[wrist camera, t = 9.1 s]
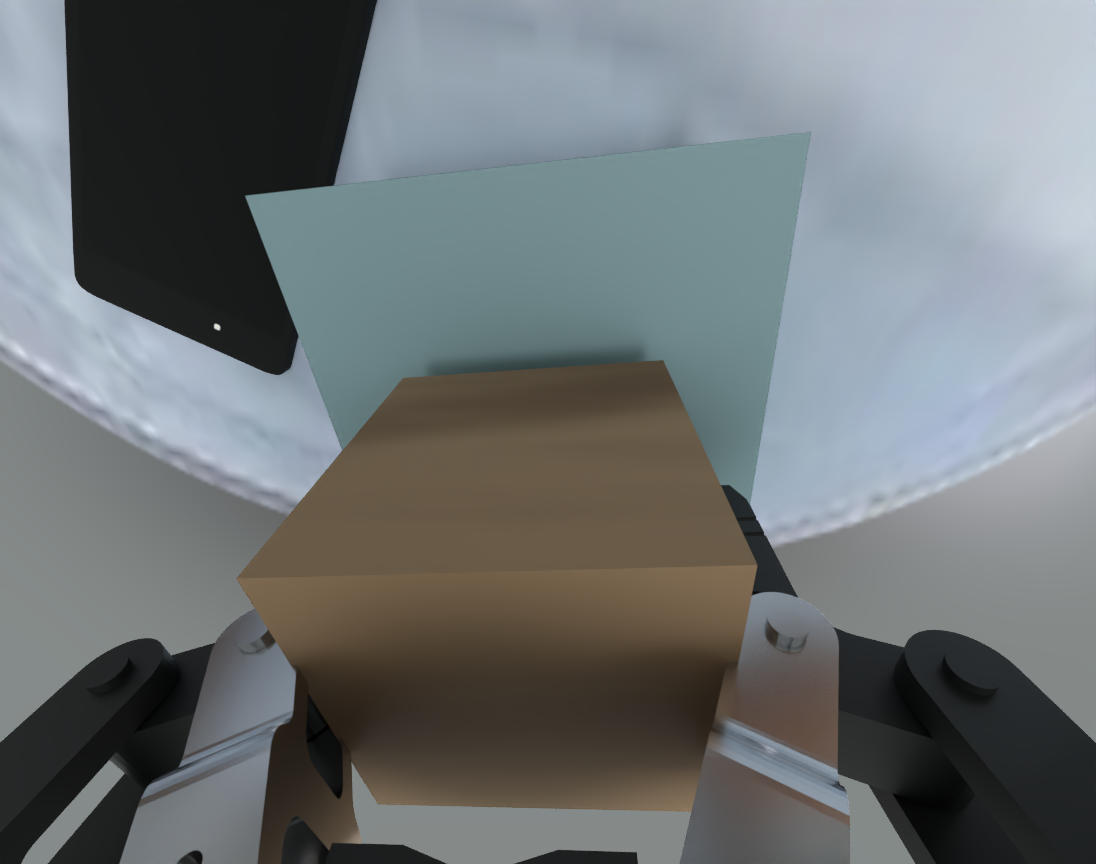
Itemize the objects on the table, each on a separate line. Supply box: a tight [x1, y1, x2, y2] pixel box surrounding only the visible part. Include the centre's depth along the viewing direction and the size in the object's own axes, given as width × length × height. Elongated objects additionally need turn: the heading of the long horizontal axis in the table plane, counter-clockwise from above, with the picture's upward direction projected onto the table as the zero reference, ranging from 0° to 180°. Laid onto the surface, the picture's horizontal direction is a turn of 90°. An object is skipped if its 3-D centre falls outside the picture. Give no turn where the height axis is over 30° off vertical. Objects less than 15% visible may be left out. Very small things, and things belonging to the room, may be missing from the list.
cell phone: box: [65, 0, 377, 375], centre depth 16 cm, size 9×18×1 cm, turn 152°
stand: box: [245, 132, 811, 504], centre depth 16 cm, size 14×12×8 cm
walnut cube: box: [237, 360, 757, 812], centre depth 9 cm, size 6×6×6 cm
